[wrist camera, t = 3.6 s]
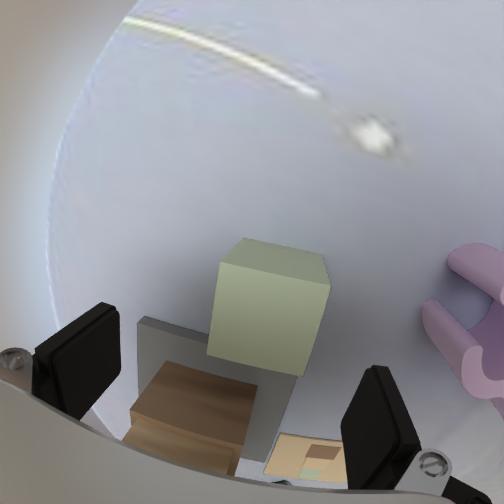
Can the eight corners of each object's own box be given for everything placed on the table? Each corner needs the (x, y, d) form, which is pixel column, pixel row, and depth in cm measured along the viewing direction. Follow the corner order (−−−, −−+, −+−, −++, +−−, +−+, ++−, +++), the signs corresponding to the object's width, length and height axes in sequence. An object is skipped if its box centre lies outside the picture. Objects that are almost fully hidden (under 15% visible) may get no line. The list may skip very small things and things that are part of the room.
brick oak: (137, 417, 15) (90, 486, 9) (233, 448, 14) (208, 532, 9) (143, 465, 16) (110, 523, 11) (221, 491, 16) (201, 556, 10)
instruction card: (280, 432, 22) (279, 435, 22) (374, 443, 21) (374, 445, 21) (263, 471, 24) (263, 474, 24) (346, 481, 23) (346, 483, 23)
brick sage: (244, 237, 19) (220, 261, 13) (321, 254, 18) (331, 286, 13) (231, 308, 20) (206, 354, 14) (303, 324, 20) (302, 376, 14)
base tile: (144, 315, 21) (137, 322, 20) (301, 356, 20) (301, 365, 19) (146, 418, 24) (141, 426, 23) (266, 453, 23) (264, 462, 22)
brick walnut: (166, 360, 21) (129, 409, 15) (257, 385, 20) (243, 445, 14) (164, 419, 22) (137, 466, 17) (242, 441, 22) (227, 495, 16)
